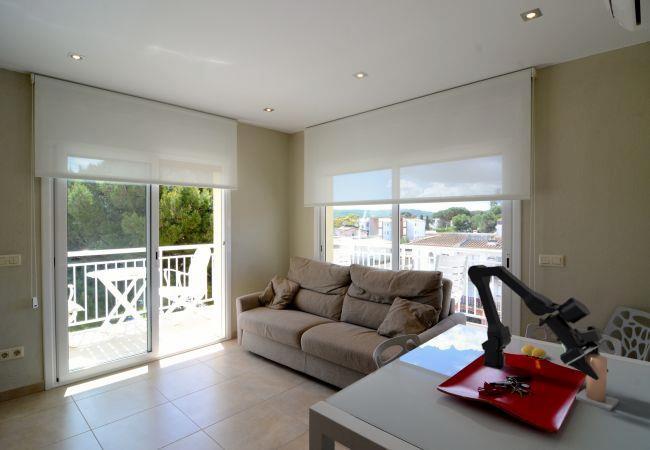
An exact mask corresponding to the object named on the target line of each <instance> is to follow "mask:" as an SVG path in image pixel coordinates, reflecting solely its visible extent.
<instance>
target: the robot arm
mask: <svg viewBox="0 0 650 450" xmlns="http://www.w3.org/2000/svg"><path fill="white" fill-rule="evenodd" d="M467 275H468V278H469V280H470V283H472V285H474V287H475V288H476V290H477V293H478V297H479V301H480V303H481V306H482V310H483V313H484V315H485V316H484V317H485V319H486V323H487V329H486V336H487V339H486V340H485V341H484V342H482V343H481V344H480V345H481V349H482V350H483V351H484V353H483V354H484V355H483V356H484V357H483V358H484V359H483V363H482V365H483V366H485V367H488V368H493V369H497V370H502V369H503V367H504V366H505V365H506V354H505V353H504V350H505V349H507V348H506V347H507V346H509V345H510V343H511V342H512V339H511V337H513V335H512V334H511V332H510V326H509V325H504V324H503V322H502V321H501V318H500V315H499V312H498V308H497V305H496V303H495V299H494V297H493V293H492V289H491V287H490V286H491V277H497V279H498V280H500V281H502V283H503V284H505V285H506V286H507V287H508V288H510V290H511V291H512V292H514V293H515V294H516V295H517V296H519V297H520V298H521V300H522V301H523V303H524V305H525V306H526V307H527V309H529V311H530V312H531V313H532V314H533V315H535V316H539V317H540V318H538V319H539V321H538V322H539V323H538V327H543V326H545V325H546V326H547V328H548V329H549V330H550V331H551V332H552V333H553V334H554V335H555V337H556V338H555V340H556V341H557V342H558V343H559V342H560V343H561V345H562V344H563V345H564V346H565V347H566V348H567V350H566V352H565V351H564V352H563V353H561V354H560V357H559V358H560V361H561V362H562V363H563V364H564V365H568V367H569V366H570V367H571V368H573V369H576V370H577V371H578V372H581V373H583V374H584V375H586V376H587V375H588V376H590V377H591V378H593V379H595V380H598V379H599V377H598V376H597V374H596V373H595V371H594V370H593V368H592V367H591V366H590V364H589V363H588V361H587V354H597V355H601V353H600V351H601V342H600V341H601V340H603V339H604V337H603V336H602V333H603V331H602V330H600V328H597V327H596V326H595V325H589V326H587V327H586V329H585V330H583V331H580V329H578V328H576V327H575V328H573V327H572V326H571V324H573V325H574V324H577V323H578V322H580V321H581V320H583V319H584V318H587V317H588V316H590V315H591V312H590V309H589V308H588V307H587V306H586V304H584V303H582V302H580V300H577V299H576V298H575V297H573V296H572V297H569V298H568V299H567V300H566V301H565V302H563V303H562V304H560V303H556V302H553V301H552V300H551V299H550V298H548V297H547V296H545V295H544V294H542V293H539V292H537V291H535V290H533V289H532V288H531V287H529V286H527V285H526V283H524V282H522V280H520V279H519V278H518V277H517V276H515V275H514V274H513V273H512V272H510V270H508V269H507V268H506V266H504V265H494V266H487V265H485V264H475V265H474V264H473V265H471V266H469V267H468V269H467ZM553 313H556V314H553ZM546 315H547V316H546ZM542 316H546V317H542ZM570 323H571V324H570ZM607 373H609V369H608V368H607Z"/></svg>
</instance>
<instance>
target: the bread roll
mask: <svg viewBox="0 0 650 450" xmlns="http://www.w3.org/2000/svg"><path fill="white" fill-rule="evenodd" d="M520 353H521V354H522V355H523V356H525V355H528V356H535V357H539V358H543V359H542V360H546V359H547V356H548V355H547V352H546V350H544V349H543V348H539V347H534V346H533V345H531V344H527V345H524V346H523V347H522V348H521V350H520Z"/></svg>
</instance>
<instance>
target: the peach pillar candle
mask: <svg viewBox="0 0 650 450" xmlns="http://www.w3.org/2000/svg"><path fill="white" fill-rule="evenodd" d="M587 361H588V363H589V364H590V366H591V367H592V368H593V370H594V371H595V373H596V374H597V376H598V377H599V379H598V380H595V379H593V378H591V377H590V376H588V375H586V384H585V385H586V386H585V387H586V388H585V389H586V396H587V397H588V398H589V399H592V400H594V401H598V402H605V401H606V396H607V389H608V388H607V383H608V382H607V381H608V372H607V369H608V357H606V356H604V355H601V354H600V355H597V354H587Z"/></svg>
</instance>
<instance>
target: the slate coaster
mask: <svg viewBox="0 0 650 450" xmlns="http://www.w3.org/2000/svg"><path fill="white" fill-rule="evenodd" d="M575 396H576V399H575V400H576V401H580V402H583V403H585V404H588V405H590V406H594V407H596V408H599V409H602V410H605V411H608V412H611V411H612V410H613V409H614V408H615V407H616V406H617V405H618V404H619V403H620V399H617V398H614V397H611V396H608V395H606V401H605V402H598V401H594V400H592V399H589V398H588V397H587V396H586V388H584V389H582V390H581V391H579V392H578V393H577V394H575Z"/></svg>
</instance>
